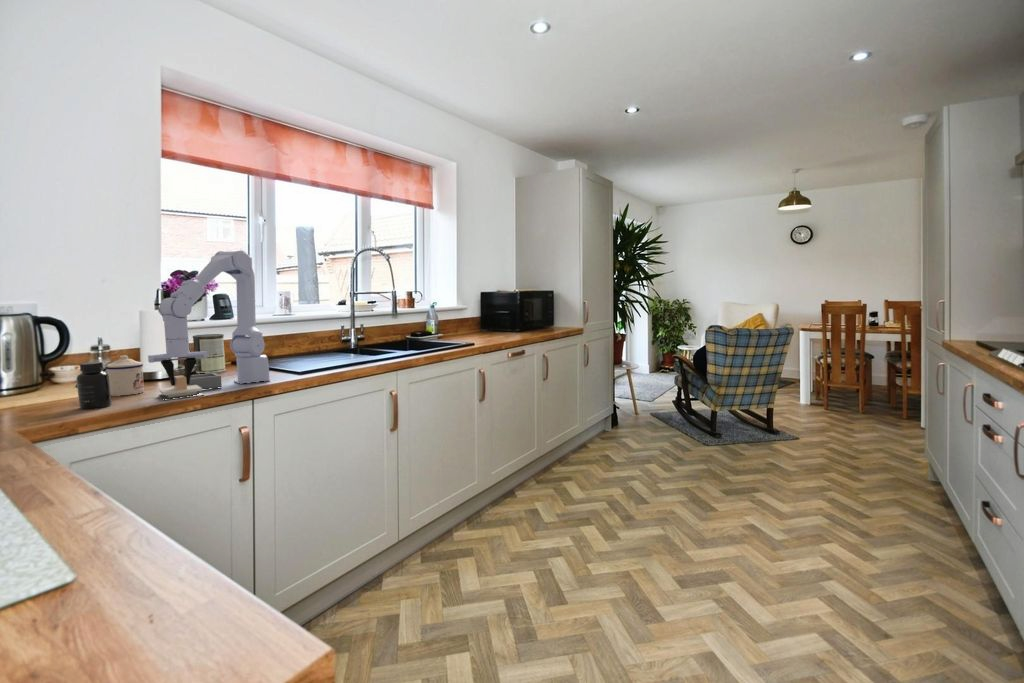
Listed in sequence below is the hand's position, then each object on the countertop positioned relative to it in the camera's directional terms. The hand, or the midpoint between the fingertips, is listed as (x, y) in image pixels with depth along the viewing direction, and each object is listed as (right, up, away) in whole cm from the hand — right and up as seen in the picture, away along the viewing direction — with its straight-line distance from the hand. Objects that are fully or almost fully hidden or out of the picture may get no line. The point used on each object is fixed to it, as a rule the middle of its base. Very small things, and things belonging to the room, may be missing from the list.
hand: (180, 384), depth 155 cm
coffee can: (-18, +1, +47) cm, 50 cm away
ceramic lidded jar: (-20, -3, +6) cm, 21 cm away
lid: (0, -2, 0) cm, 2 cm away
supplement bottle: (-14, -5, -14) cm, 20 cm away
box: (-1, -2, +12) cm, 12 cm away
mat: (0, -3, 0) cm, 3 cm away
